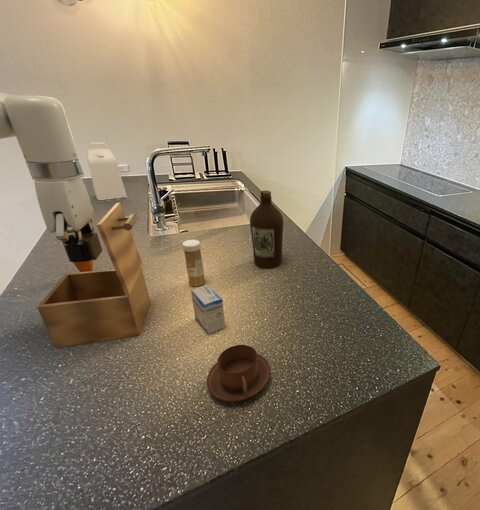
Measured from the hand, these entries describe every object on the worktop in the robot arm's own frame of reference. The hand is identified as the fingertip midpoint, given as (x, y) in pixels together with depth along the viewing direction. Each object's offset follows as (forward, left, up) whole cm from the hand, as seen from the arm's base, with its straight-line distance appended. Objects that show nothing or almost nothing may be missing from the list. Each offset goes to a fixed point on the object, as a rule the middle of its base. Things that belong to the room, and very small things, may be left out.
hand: (86, 254), depth 65 cm
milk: (-26, +108, -19) cm, 113 cm away
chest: (0, 0, -18) cm, 18 cm away
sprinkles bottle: (+19, +14, -19) cm, 30 cm away
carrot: (-11, +24, -19) cm, 32 cm away
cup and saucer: (+29, -26, -19) cm, 43 cm away
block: (0, 0, 0) cm, 0 cm away
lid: (+7, 0, +1) cm, 7 cm away
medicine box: (+23, -6, -19) cm, 30 cm away
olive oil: (+41, +23, -19) cm, 50 cm away
